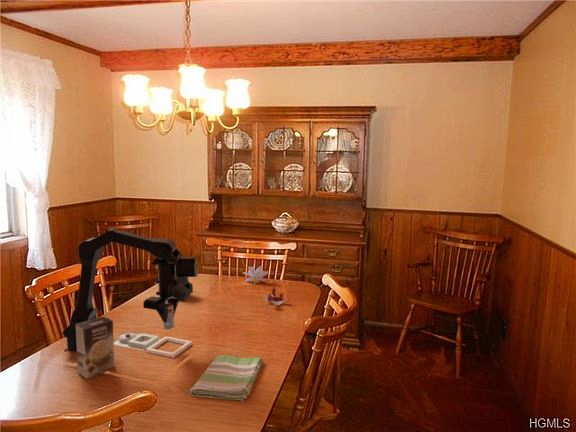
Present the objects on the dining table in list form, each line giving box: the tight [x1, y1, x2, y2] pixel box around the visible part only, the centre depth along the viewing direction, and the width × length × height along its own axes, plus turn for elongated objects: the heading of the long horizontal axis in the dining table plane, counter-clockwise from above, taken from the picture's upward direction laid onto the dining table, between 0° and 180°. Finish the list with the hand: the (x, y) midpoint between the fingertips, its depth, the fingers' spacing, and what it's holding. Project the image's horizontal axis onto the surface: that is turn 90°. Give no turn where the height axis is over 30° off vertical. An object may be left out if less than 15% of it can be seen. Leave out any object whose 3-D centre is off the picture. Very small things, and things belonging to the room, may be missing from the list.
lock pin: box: [163, 303, 175, 330], centre depth 148 cm, size 4×4×8 cm
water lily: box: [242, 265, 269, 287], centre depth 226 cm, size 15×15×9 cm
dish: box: [145, 336, 193, 359], centre depth 149 cm, size 11×11×2 cm
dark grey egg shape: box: [175, 266, 190, 285], centre depth 204 cm, size 10×10×15 cm
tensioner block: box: [114, 332, 162, 352], centre depth 154 cm, size 10×14×3 cm
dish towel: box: [189, 354, 264, 402], centre depth 132 cm, size 17×23×4 cm
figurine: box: [261, 285, 288, 307], centre depth 197 cm, size 15×12×7 cm
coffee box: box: [76, 316, 115, 380], centre depth 134 cm, size 9×6×16 cm
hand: (168, 320), depth 148 cm, fingers closed on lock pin, 3 cm apart
